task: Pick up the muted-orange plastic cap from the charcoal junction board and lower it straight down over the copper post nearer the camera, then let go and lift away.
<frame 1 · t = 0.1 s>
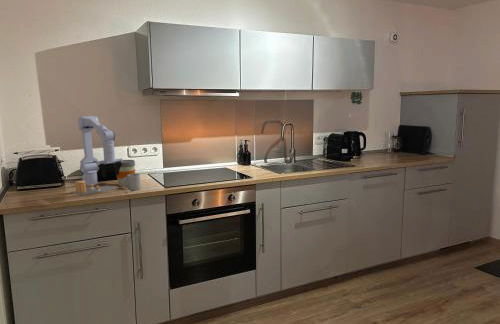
hand: (110, 176, 209), 10 cm above the countertop, tool pointing down, fingers open, 7 cm apart
cup: (132, 189, 219), on the countertop
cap: (81, 191, 209), point 1 cm above the countertop, touching board
board: (94, 192, 213), on the countertop
reusable coffee cup: (126, 184, 234), on the countertop
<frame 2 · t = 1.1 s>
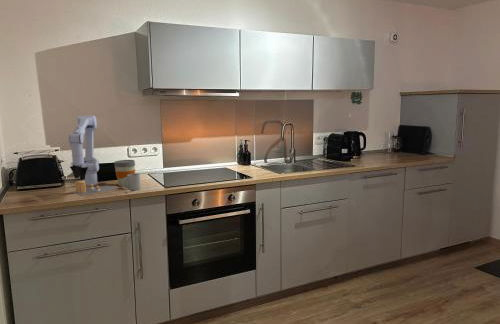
hand: (79, 178, 208), 9 cm above the countertop, tool pointing down, fingers open, 7 cm apart
nothing on the countertop moved.
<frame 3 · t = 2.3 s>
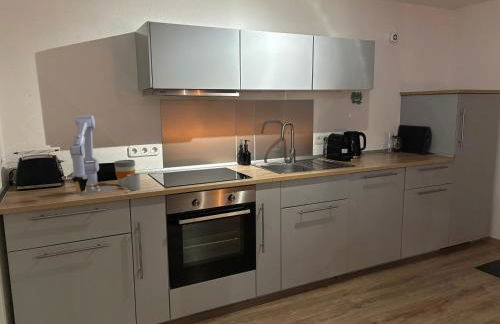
hand: (80, 189, 209), 3 cm above the countertop, tool pointing down, fingers closed on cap, 5 cm apart
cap: (81, 191, 209), point 1 cm above the countertop, touching board, gripper
everything else where it was.
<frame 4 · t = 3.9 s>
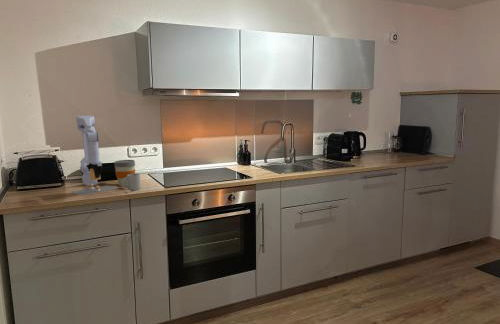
hand: (95, 177, 209), 10 cm above the countertop, tool pointing down, fingers closed on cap, 5 cm apart
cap: (95, 179, 209), point 9 cm above the countertop, touching gripper
everything else where it was.
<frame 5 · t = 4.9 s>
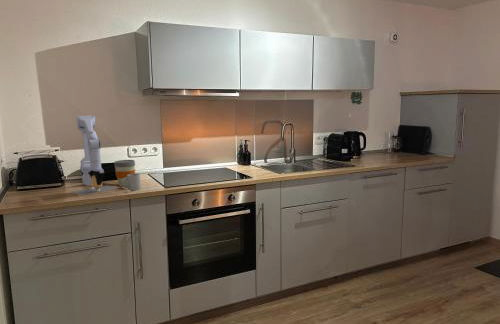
hand: (97, 184, 210), 6 cm above the countertop, tool pointing down, fingers closed on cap, 5 cm apart
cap: (97, 186, 210), point 5 cm above the countertop, touching gripper
everything else where it was.
when the fingers open (4 cm above the countertop, at t = 5.8 s): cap drops 1 cm, resting on board.
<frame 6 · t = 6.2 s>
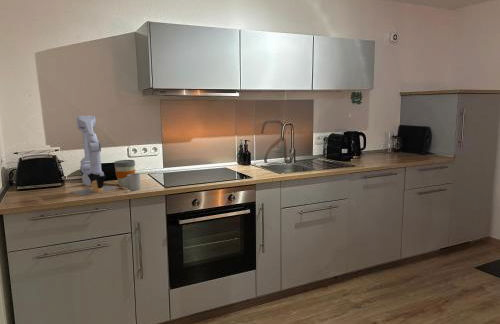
hand: (97, 187, 210), 4 cm above the countertop, tool pointing down, fingers open, 7 cm apart
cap: (97, 191, 210), point 1 cm above the countertop, touching board
everything else where it was.
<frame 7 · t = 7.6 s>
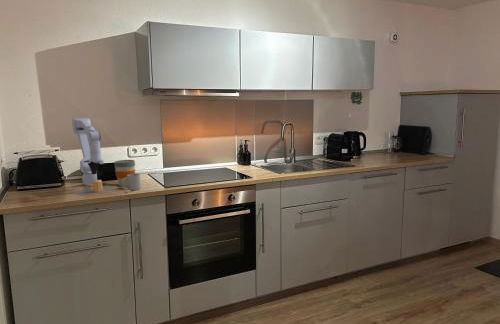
hand: (97, 174, 217), 9 cm above the countertop, tool pointing down, fingers open, 7 cm apart
nothing on the countertop moved.
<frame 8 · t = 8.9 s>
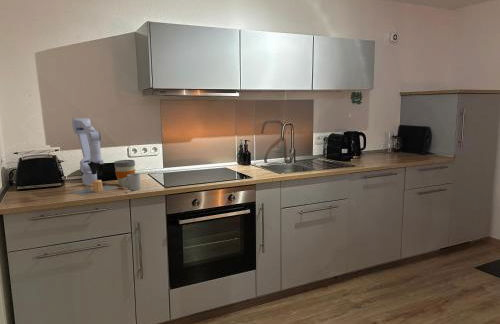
hand: (97, 174, 217), 9 cm above the countertop, tool pointing down, fingers open, 7 cm apart
nothing on the countertop moved.
at the end: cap 0.0 cm from the target spot on the board, point 1.5 cm above the board's base; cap tilted 0°; the gripper is holding nothing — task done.
